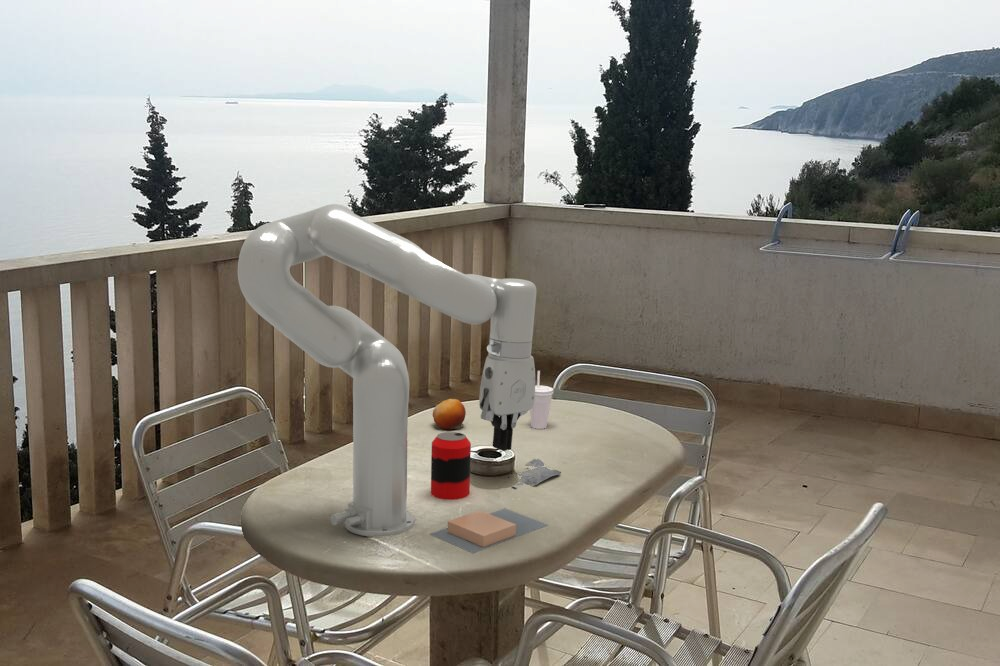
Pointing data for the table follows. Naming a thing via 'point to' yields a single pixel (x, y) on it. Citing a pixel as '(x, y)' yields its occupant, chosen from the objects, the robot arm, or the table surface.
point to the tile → (481, 528)
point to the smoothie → (541, 405)
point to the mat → (522, 528)
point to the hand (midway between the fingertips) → (501, 448)
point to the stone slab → (535, 474)
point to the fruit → (449, 414)
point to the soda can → (450, 466)
